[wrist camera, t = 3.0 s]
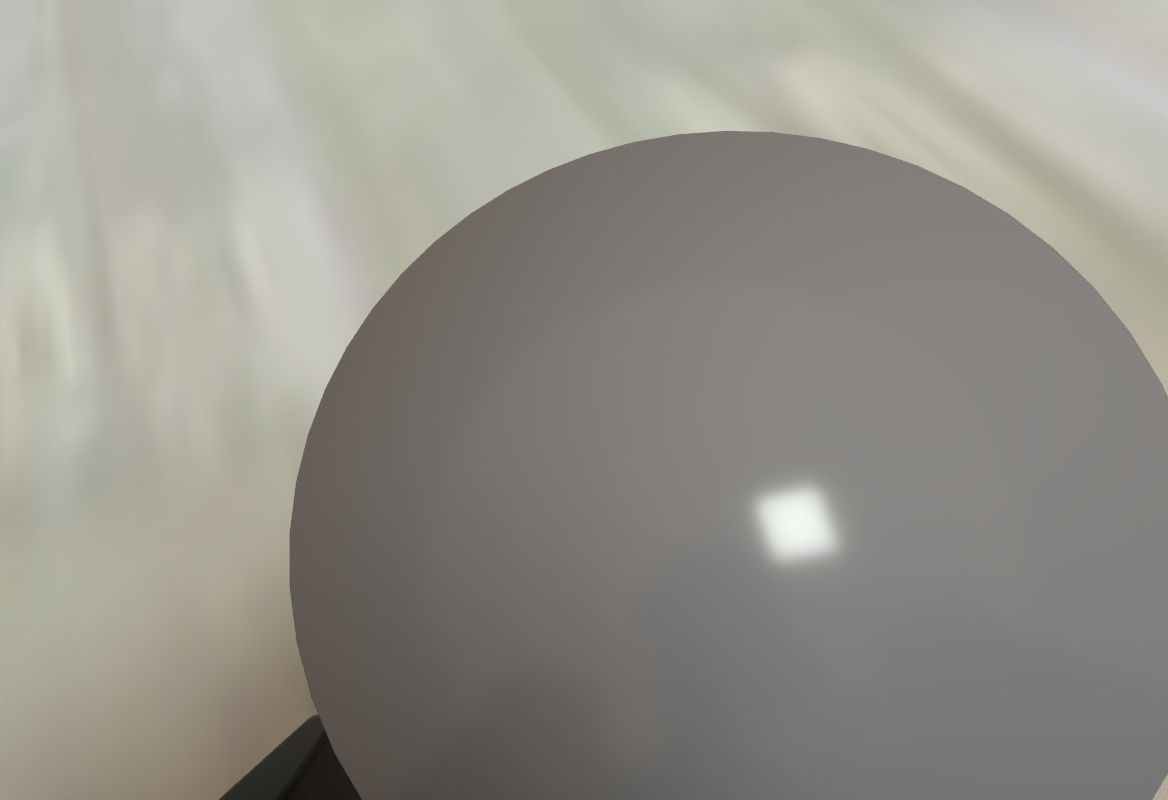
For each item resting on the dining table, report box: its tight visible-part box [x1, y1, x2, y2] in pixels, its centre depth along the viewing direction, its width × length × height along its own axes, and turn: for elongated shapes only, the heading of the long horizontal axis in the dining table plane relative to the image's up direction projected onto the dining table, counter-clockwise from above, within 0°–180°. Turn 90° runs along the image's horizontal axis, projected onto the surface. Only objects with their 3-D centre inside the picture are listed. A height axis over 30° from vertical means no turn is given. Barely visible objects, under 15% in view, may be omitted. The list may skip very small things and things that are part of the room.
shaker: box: [290, 131, 1168, 800], centre depth 10 cm, size 5×5×13 cm
